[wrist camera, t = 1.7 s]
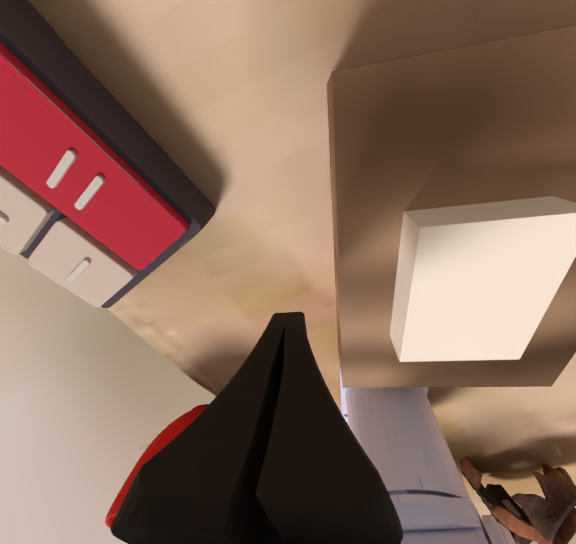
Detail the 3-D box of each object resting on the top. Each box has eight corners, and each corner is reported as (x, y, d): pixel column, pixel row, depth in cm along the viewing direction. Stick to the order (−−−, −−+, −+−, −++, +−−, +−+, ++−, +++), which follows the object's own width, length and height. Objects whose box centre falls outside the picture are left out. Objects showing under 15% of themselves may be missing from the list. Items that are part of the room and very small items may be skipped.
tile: (495, 331, 14) (519, 359, 13) (389, 335, 15) (399, 362, 13) (552, 195, 10) (600, 210, 8) (403, 211, 11) (420, 227, 9)
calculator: (98, 318, 17) (-225, 118, 11) (134, 282, 20) (-92, 115, 14) (200, 233, 13) (-232, -182, 6) (222, 206, 16) (-41, -78, 10)
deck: (514, 346, 19) (551, 386, 16) (338, 350, 21) (343, 387, 18) (679, 20, 10) (843, -27, 7) (326, 84, 12) (332, 71, 9)
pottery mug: (457, 441, 29) (549, 521, 21) (509, 410, 32) (607, 471, 24) (452, 509, 32) (530, 599, 25) (499, 476, 35) (582, 548, 27)
